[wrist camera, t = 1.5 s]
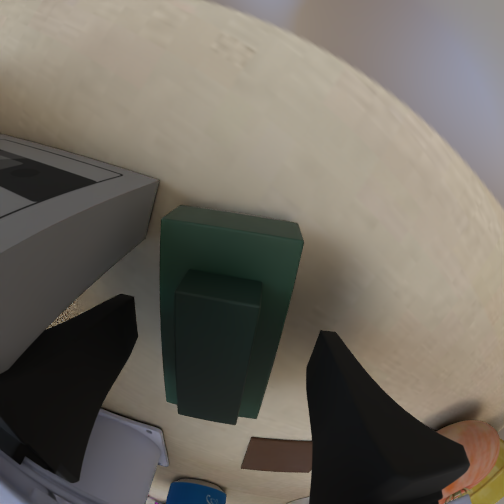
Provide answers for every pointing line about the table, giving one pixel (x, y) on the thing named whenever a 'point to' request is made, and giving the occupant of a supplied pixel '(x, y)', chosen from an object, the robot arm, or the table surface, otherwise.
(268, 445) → the square plate
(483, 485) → the flower pot
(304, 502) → the decorative container
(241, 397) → the scrub brush
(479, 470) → the tomato
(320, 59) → the table surface
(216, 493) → the beverage can
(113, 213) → the cassette player
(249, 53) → the table surface
